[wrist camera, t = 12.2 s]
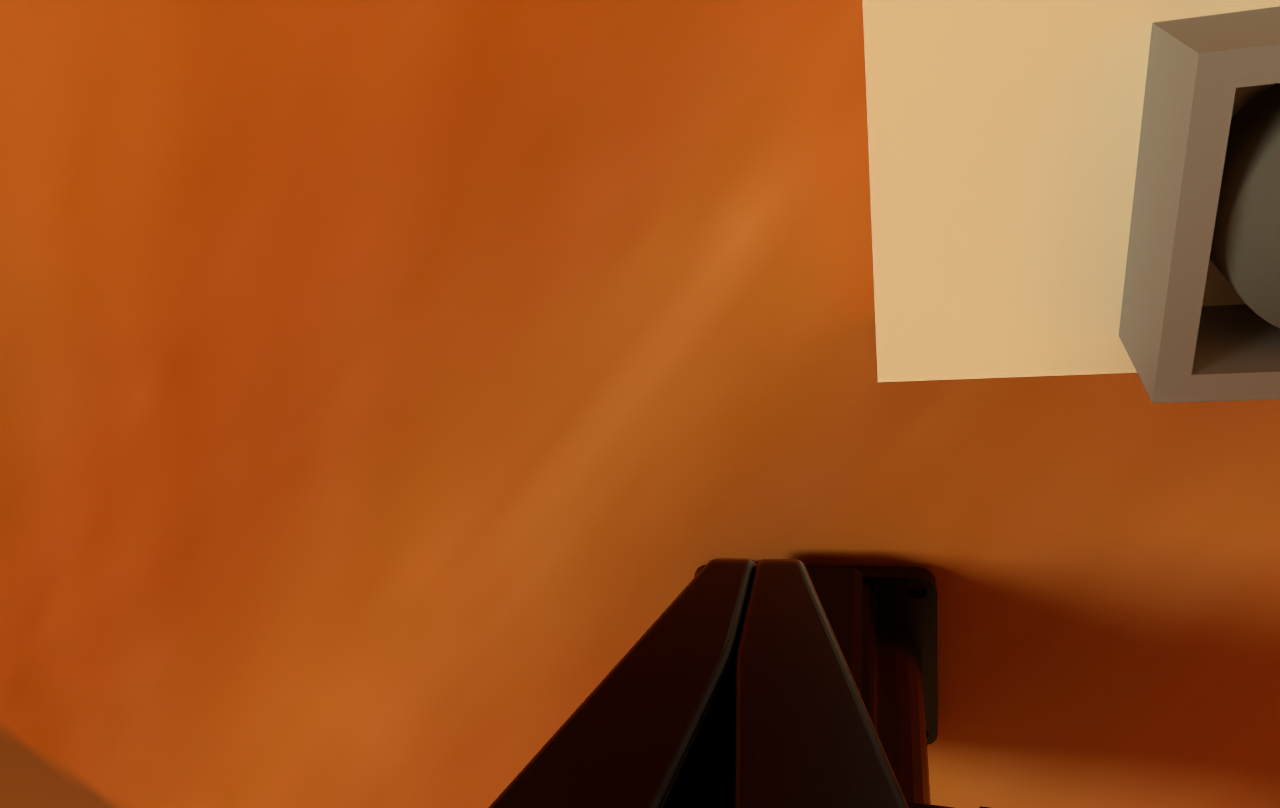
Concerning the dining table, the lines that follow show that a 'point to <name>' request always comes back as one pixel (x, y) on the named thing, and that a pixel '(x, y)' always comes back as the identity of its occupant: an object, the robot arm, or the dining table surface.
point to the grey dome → (1252, 206)
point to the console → (1062, 190)
